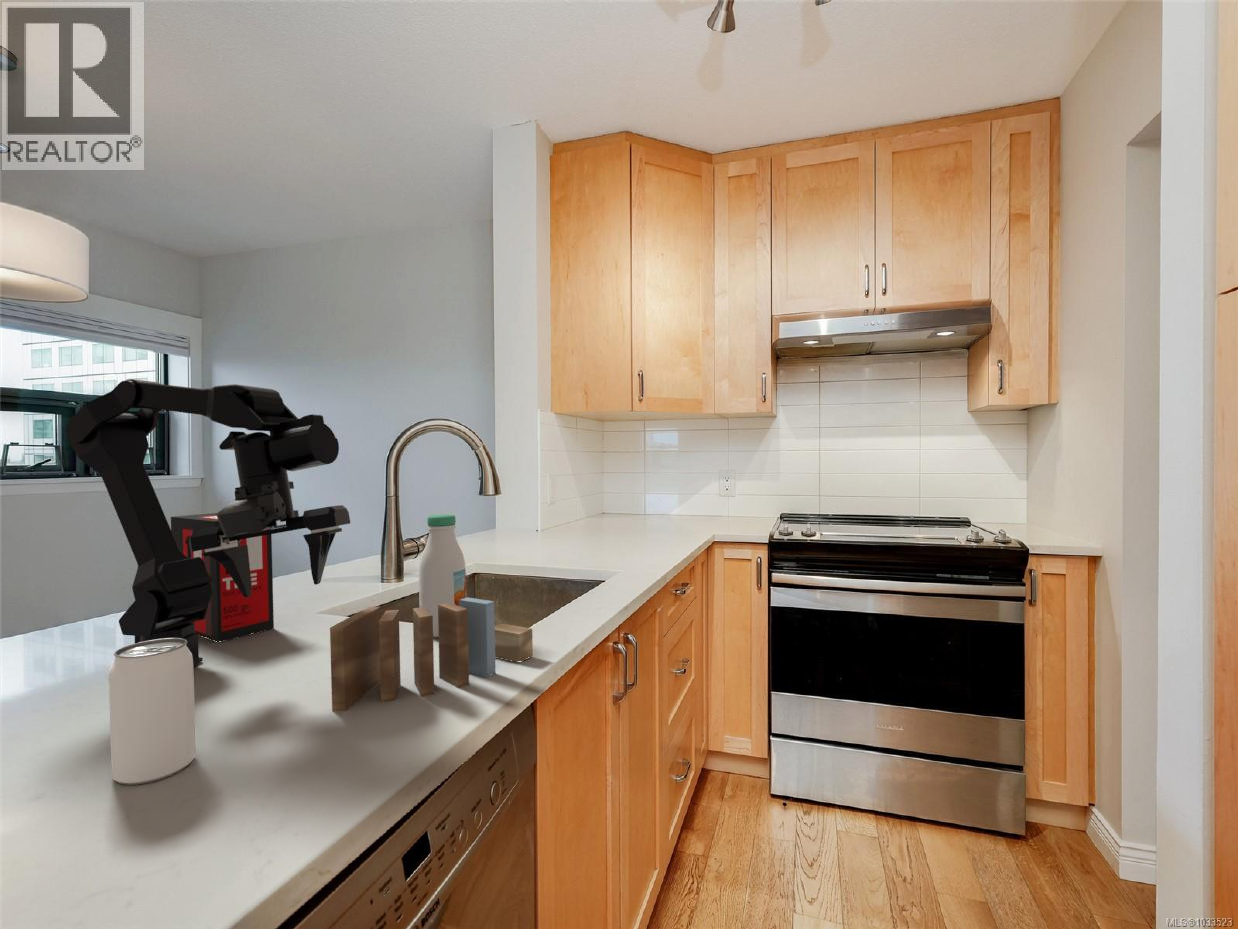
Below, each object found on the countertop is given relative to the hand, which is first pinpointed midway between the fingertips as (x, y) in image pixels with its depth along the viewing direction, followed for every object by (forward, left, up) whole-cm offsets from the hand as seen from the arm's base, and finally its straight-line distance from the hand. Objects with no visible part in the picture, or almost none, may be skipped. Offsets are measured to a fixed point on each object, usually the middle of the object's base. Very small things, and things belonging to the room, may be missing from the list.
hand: (282, 590), depth 81 cm
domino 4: (+23, -3, -12) cm, 26 cm away
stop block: (+30, +6, -12) cm, 33 cm away
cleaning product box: (-23, +27, -12) cm, 37 cm away
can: (-2, -23, -12) cm, 26 cm away
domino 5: (+26, 0, -12) cm, 29 cm away
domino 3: (+20, -5, -12) cm, 24 cm away
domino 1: (+12, -6, -12) cm, 18 cm away
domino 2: (+16, -6, -12) cm, 21 cm away
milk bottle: (+17, +20, -12) cm, 29 cm away
